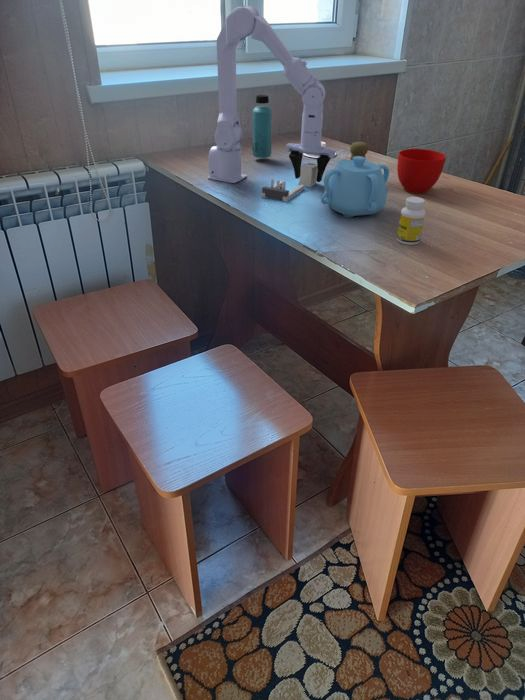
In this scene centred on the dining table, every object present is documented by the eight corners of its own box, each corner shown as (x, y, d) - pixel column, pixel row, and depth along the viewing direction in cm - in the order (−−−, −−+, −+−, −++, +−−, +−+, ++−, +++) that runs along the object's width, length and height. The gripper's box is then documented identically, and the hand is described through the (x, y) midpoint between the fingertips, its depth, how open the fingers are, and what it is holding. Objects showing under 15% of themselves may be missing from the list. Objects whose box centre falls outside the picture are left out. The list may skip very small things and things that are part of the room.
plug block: (299, 185, 152) (300, 165, 148) (305, 181, 155) (306, 162, 152) (310, 187, 150) (311, 167, 147) (316, 183, 154) (317, 163, 150)
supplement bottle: (393, 236, 121) (400, 195, 116) (415, 236, 122) (423, 195, 116) (400, 245, 117) (407, 203, 111) (423, 245, 117) (432, 203, 112)
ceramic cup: (452, 187, 152) (460, 152, 147) (424, 200, 142) (432, 163, 137) (413, 177, 160) (419, 144, 154) (384, 189, 149) (390, 154, 144)
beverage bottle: (274, 159, 174) (276, 94, 162) (264, 164, 169) (265, 97, 158) (258, 156, 177) (259, 92, 165) (248, 160, 172) (248, 95, 161)
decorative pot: (311, 213, 133) (315, 159, 125) (336, 196, 144) (341, 145, 136) (371, 226, 126) (379, 170, 119) (392, 207, 138) (400, 154, 130)
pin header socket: (261, 196, 143) (261, 180, 140) (279, 185, 151) (280, 169, 149) (286, 201, 140) (287, 185, 137) (304, 189, 149) (305, 173, 146)
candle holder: (303, 150, 186) (303, 137, 183) (336, 151, 185) (337, 139, 182) (300, 159, 176) (301, 146, 174) (335, 160, 175) (337, 147, 172)
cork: (364, 184, 154) (369, 145, 147) (344, 182, 155) (348, 144, 148) (365, 178, 158) (370, 140, 152) (346, 176, 159) (350, 139, 153)
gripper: (340, 131, 144) (336, 179, 152) (294, 125, 149) (291, 172, 157) (331, 136, 139) (327, 186, 147) (283, 129, 144) (281, 178, 152)
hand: (308, 179), depth 152 cm, fingers open, 6 cm apart
